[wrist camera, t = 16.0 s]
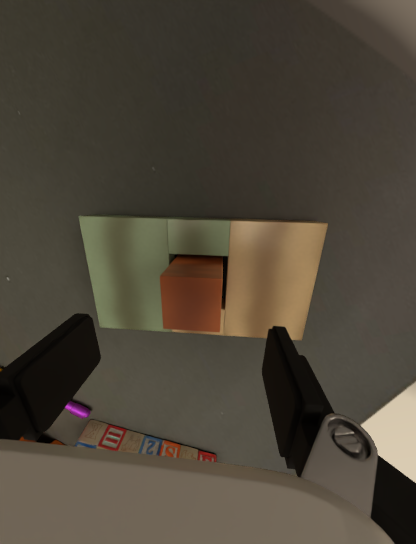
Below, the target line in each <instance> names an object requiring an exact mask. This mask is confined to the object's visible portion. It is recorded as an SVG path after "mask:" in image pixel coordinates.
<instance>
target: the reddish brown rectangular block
mask: <svg viewBox="0 0 416 544" xmlns="http://www.w3.org/2000/svg"><path fill="white" fill-rule="evenodd" d="M222 283H223V256H212V255H187V254H179V255H178V256H177V257H176V258H175V259H174V260H173V261H172V263H171V264H170V265H169V266H168V267H167V268H166V269H165V271H164V272H163V273H162V274H161V275H160V288H161V303H162V319H163V329H174V330H190V331H205V332H220V321H221V302H222Z"/></svg>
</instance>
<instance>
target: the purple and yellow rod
mask: <svg viewBox="0 0 416 544" xmlns="http://www.w3.org/2000/svg"><path fill="white" fill-rule="evenodd" d="M1 370H3V369H2V368H0V371H1ZM65 409H67V410H70V413H71V414H73V415H75V416H78V417H80V418H82V419H83V417H85V418H86V417H88V416H89V414H90V410H89V409H88V408H86V407H84V406H82V405H80V404H78V403H74V402H72V401H69V403H68V404H67V405H66V407H65Z"/></svg>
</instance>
